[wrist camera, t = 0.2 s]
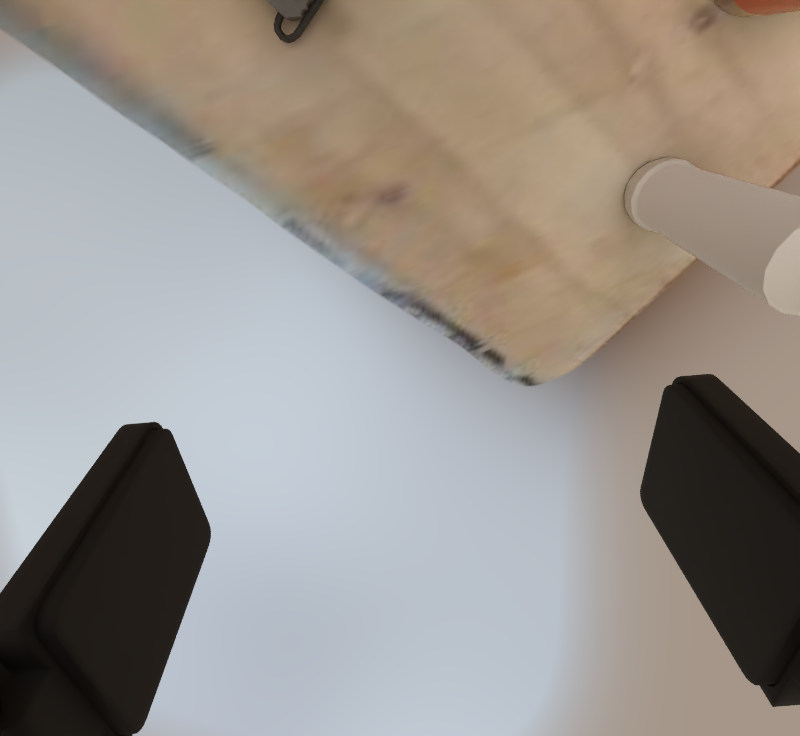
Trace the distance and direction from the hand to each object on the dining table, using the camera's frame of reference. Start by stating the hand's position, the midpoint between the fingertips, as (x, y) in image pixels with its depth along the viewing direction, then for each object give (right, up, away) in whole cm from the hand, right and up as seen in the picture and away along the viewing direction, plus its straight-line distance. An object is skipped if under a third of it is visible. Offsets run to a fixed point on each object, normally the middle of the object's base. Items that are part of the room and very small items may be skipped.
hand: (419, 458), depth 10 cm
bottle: (+19, +15, +28) cm, 37 cm away
